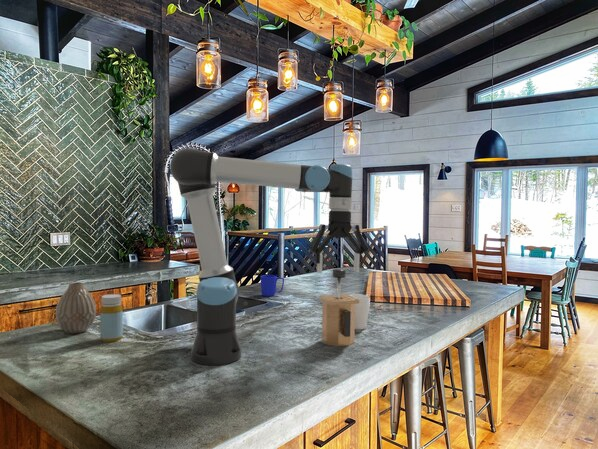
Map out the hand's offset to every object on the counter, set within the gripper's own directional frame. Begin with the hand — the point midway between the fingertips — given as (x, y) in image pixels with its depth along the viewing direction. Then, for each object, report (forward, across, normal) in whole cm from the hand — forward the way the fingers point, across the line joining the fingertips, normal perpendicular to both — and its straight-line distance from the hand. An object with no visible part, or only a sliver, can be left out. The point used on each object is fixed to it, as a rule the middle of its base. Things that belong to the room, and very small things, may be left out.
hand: (338, 272), depth 152 cm
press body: (+24, +1, -1) cm, 24 cm away
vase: (+25, -86, +37) cm, 97 cm away
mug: (+24, -2, +79) cm, 83 cm away
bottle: (+25, -73, +23) cm, 81 cm away
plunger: (+19, +1, 0) cm, 19 cm away
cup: (+24, +15, +14) cm, 31 cm away
